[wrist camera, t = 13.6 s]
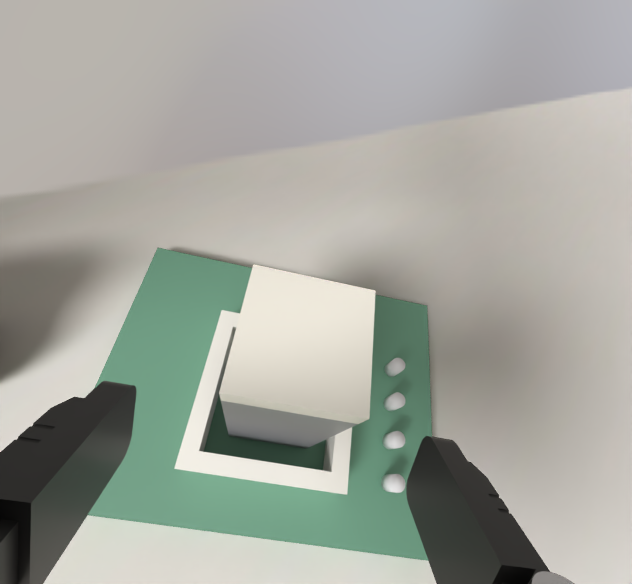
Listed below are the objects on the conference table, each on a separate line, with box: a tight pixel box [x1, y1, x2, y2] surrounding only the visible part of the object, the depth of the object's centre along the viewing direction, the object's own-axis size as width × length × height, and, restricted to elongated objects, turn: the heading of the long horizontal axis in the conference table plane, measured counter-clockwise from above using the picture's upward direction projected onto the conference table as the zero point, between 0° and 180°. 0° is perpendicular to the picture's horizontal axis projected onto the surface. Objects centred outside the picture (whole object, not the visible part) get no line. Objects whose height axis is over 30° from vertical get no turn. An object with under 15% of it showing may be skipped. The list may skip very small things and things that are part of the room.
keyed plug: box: [219, 264, 376, 449], centre depth 14 cm, size 4×4×10 cm
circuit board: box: [88, 248, 432, 561], centre depth 19 cm, size 18×14×3 cm
